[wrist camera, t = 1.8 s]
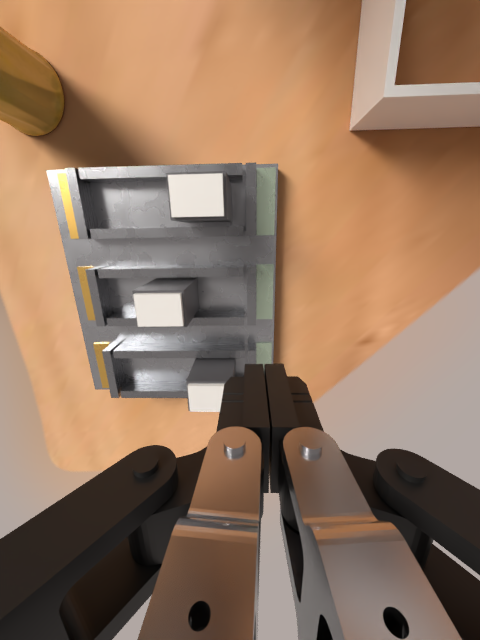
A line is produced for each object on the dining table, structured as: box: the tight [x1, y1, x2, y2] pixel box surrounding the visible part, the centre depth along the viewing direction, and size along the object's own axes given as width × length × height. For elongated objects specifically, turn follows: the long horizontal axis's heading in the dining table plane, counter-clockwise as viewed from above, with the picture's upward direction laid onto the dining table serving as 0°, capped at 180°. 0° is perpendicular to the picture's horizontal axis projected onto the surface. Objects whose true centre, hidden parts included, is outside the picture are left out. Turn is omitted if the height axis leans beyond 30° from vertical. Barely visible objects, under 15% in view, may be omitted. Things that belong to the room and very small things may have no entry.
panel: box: [46, 163, 278, 398], centre depth 26 cm, size 22×20×4 cm
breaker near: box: [166, 171, 232, 223], centre depth 21 cm, size 3×4×6 cm
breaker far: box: [186, 358, 236, 412], centre depth 26 cm, size 3×4×6 cm
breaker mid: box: [132, 278, 199, 327], centre depth 23 cm, size 3×4×6 cm
